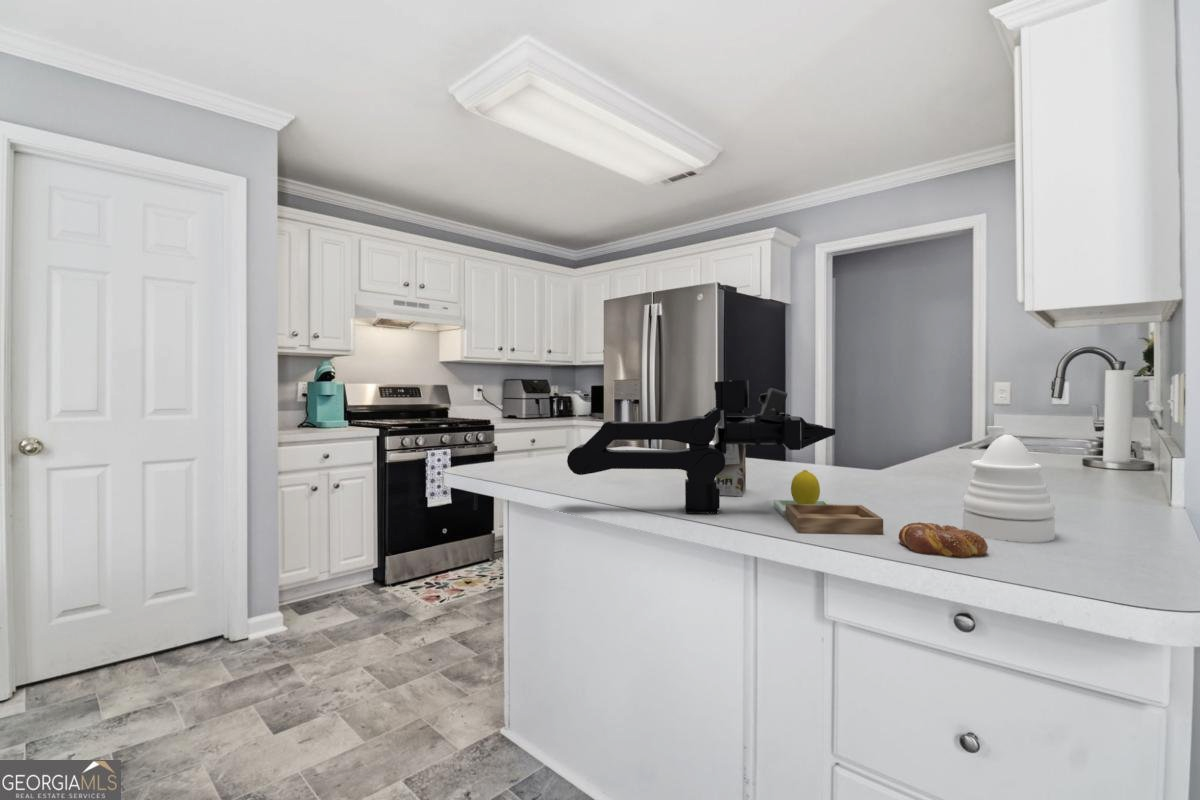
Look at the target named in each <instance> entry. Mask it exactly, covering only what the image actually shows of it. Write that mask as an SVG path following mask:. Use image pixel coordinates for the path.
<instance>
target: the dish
mask: <svg viewBox="0 0 1200 800" xmlns="http://www.w3.org/2000/svg"><path fill="white" fill-rule="evenodd" d="M772 501H773V502H772V503H773V505H774V506H773V507H774V508H775V510H776V511H777V510H778V511H777V512H778V513H779V514H780V515H782V516H781V517H782V518H786V504H797V503H796V502H795V501H794V499H773V500H772ZM815 504H825V505H833V503H831V502H830V501H829V500H823V499H821V500H820V499H818V500H817V502H816V503H815Z"/></svg>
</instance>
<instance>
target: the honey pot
mask: <svg viewBox="0 0 1200 800" xmlns="http://www.w3.org/2000/svg"><path fill="white" fill-rule="evenodd" d="M986 430H987V433H988V435H989V436H990V437H991V438H993V439H994V440H993V441H992V442H991V443H990V444H989V445H988V447H987V449H986V450H985V451H984V452H983V454H982V457H981V458H980V459H976V460H975V459H974V460H973V461H970V466H971V468H974V469H975V471H974V473H973V476H972V478H971V479H970V480H969V486H968V487H967V492H966V494H965V495H964V496H963V499H962V502H963V504H962V508H963V509H962V530H963V529H964V530H969V531H971V532H974V533H976V534H978V535H979V536H983V537H982V538H985V537H988V538H987V539H990V538H993V539H992V540H996V539H1000V540H999V541H1003V540H1008V541H1007V542H1013V541H1019V542H1018V543H1028V542H1034V543H1046V542H1045V541H1048V542H1051V541H1050V540H1052V541H1054V540H1055V536H1056V535H1055V534H1056V533H1055V532H1056V519H1055V517H1054V516H1055V511H1056V509H1055V504H1054V503H1053V501H1052V500H1051V499H1050V498H1051V495H1050V493H1049V492H1048V490H1047V488H1048V485H1047V484H1046V483H1045V481H1044V480H1043V477H1042V474H1041V473H1040V471H1042V469H1043V466H1042V465H1041V464H1039V463H1036V462H1035V460H1034V458H1033V456H1032V454H1031V453H1030V452H1029V450H1028V449H1027V447H1026V446H1025V444H1023V443H1022V442H1021V440H1020V439H1018V438H1017V437H1015V436H1014V435H1011V434H1004V433H1005V426H999V425H994V426H993V425H991V426H990V425H989V426H986ZM1053 539H1054V540H1053Z"/></svg>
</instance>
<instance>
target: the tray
mask: <svg viewBox="0 0 1200 800" xmlns="http://www.w3.org/2000/svg"><path fill="white" fill-rule="evenodd" d="M785 519H786V520H787V521H788V522H789V524H790V525H791V526H792V527H793V529H794V530H795V531H796V530H797V531H796V532H797V533H799V534H840V533H850V534H849V535H852V534H853V535H854V534H855V535H884V519H883V518H882V517H881V516H879V515H878V514H876V513H875V512H873V511H872V510H871V509H869V508H867V507H865V506H864V505H862V504H832V505H825V504H786V517H785Z"/></svg>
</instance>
